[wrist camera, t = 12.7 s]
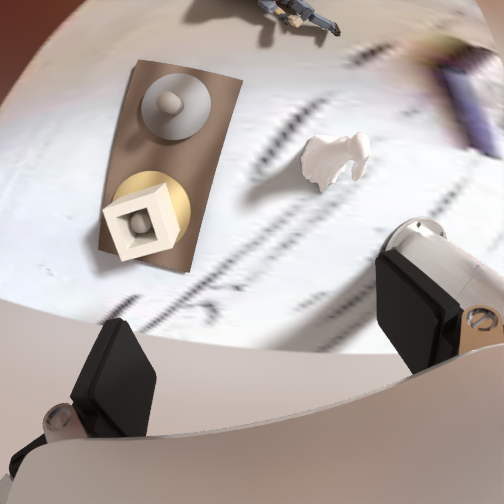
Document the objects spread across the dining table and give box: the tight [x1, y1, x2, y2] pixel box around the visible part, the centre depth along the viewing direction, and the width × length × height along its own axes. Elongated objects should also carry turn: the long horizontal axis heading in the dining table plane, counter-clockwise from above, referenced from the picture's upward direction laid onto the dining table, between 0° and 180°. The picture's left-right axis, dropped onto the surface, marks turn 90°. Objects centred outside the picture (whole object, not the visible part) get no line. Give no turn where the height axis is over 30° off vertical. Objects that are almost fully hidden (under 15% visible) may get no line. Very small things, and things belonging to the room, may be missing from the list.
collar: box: [103, 182, 180, 262], centre depth 32 cm, size 6×6×6 cm
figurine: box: [301, 132, 371, 192], centre depth 31 cm, size 8×8×12 cm
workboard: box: [98, 60, 243, 273], centre depth 31 cm, size 13×25×8 cm, turn 163°
